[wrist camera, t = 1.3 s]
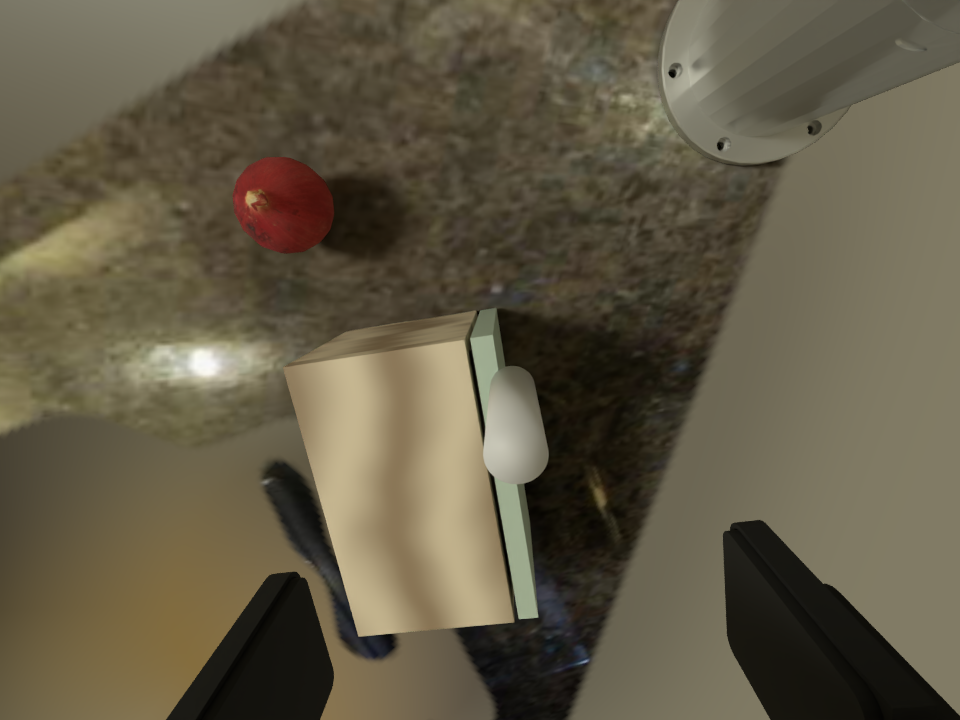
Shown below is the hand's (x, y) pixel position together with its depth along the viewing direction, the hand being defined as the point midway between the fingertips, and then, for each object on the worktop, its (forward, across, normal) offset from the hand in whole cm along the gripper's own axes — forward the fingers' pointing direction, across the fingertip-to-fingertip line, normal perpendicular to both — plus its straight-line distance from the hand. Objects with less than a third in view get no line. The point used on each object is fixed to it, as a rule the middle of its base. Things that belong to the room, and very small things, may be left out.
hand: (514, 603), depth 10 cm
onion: (+25, +12, -12) cm, 31 cm away
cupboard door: (+25, 0, +6) cm, 26 cm away
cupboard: (+25, +7, +6) cm, 27 cm away
